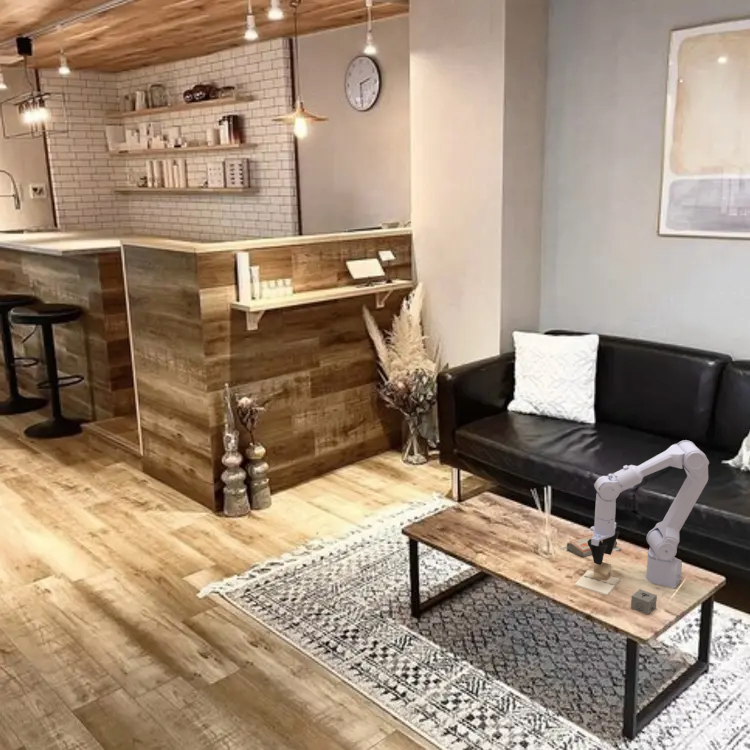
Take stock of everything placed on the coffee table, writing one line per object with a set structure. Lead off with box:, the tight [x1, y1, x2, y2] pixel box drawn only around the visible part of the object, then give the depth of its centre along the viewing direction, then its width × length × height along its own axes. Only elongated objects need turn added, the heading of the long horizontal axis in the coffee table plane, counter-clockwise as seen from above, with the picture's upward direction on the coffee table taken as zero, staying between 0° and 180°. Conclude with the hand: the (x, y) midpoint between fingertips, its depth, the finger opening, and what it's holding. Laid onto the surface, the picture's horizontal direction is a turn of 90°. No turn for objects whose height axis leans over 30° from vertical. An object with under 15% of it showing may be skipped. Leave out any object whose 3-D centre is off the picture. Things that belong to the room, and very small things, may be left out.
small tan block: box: [582, 561, 621, 587], centre depth 232 cm, size 10×4×5 cm, turn 53°
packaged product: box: [559, 533, 623, 558], centre depth 252 cm, size 18×5×10 cm
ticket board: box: [574, 575, 616, 596], centre depth 231 cm, size 18×16×2 cm
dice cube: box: [630, 588, 658, 616], centre depth 216 cm, size 5×5×5 cm
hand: (602, 558), depth 231 cm, fingers open, 7 cm apart
